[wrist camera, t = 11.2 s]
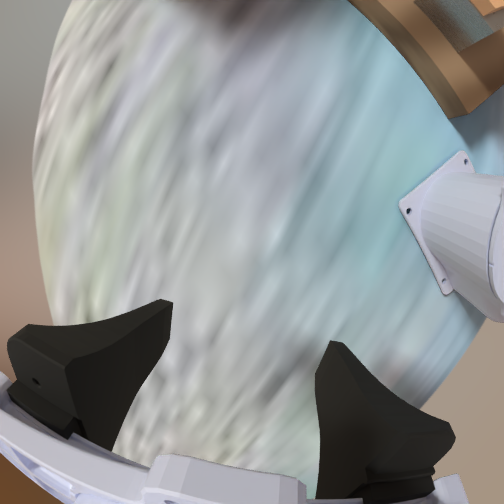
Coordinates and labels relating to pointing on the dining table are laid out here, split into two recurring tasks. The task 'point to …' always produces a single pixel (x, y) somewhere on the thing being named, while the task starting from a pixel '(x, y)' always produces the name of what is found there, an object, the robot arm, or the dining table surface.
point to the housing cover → (488, 6)
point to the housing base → (461, 21)
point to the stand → (440, 55)
